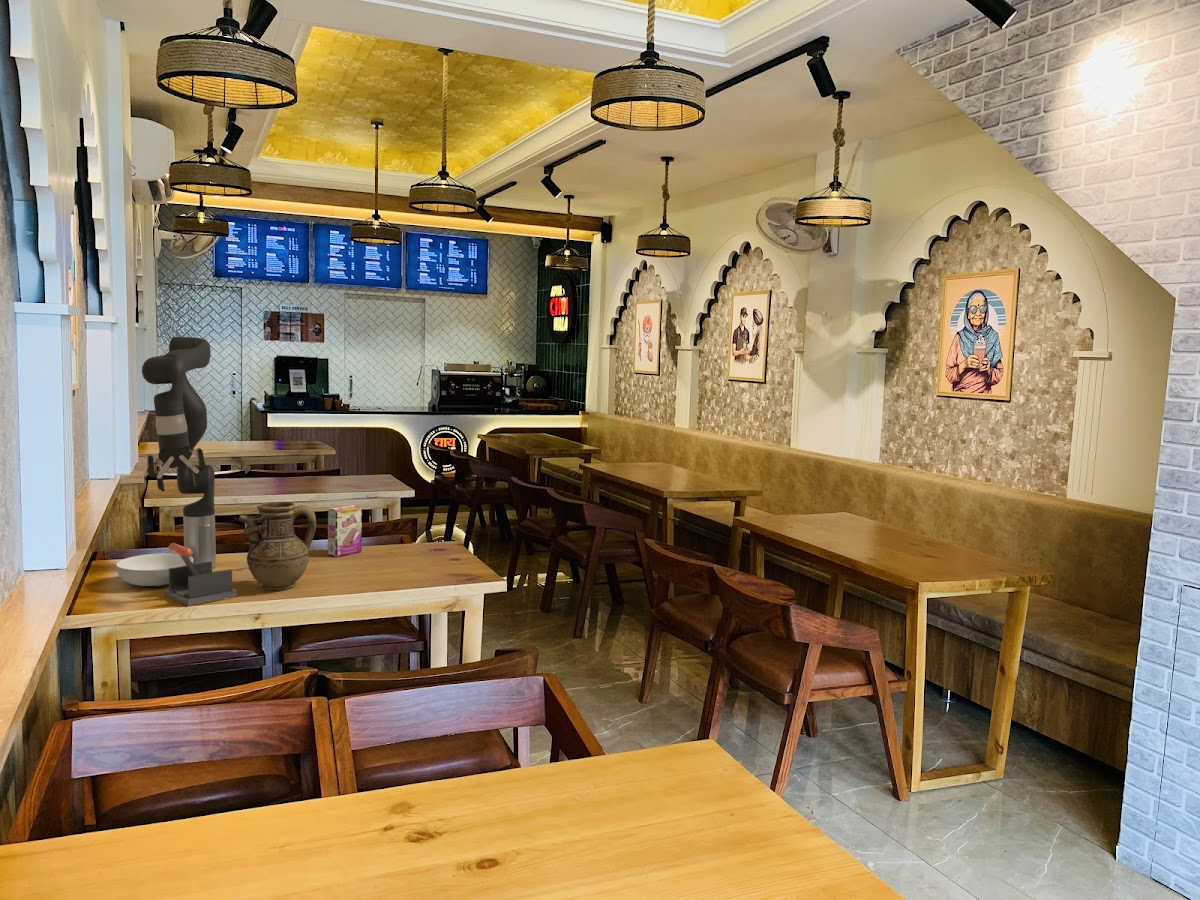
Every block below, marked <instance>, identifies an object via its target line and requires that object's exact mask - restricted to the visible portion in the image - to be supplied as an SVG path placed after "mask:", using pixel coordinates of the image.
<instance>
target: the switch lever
mask: <svg viewBox="0 0 1200 900" xmlns="http://www.w3.org/2000/svg"><path fill="white" fill-rule="evenodd" d="M168 550H169V552H171V553H172V552H173V553H175V554H180V556H181V557H182V559H183V561H184V562H185V564H186V565H187V567H188V568H189V570H190V572H191V573H192V575H193V576H194V575H199V573H198V571H197V570H196V568H195V567H194V565H193V563H192V562H191V560H190V559H189V557H190V556H192V554H193V551H192V550H191V549H189V548H186V547H184V545H180V544H178V543H176V542H171V543H169V545H168Z"/></svg>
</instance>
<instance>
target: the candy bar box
mask: <svg viewBox="0 0 1200 900" xmlns="http://www.w3.org/2000/svg"><path fill="white" fill-rule="evenodd" d="M362 509H363V507H362V506H360V505H353V504H351V505H345V506H339V507H337V506H336V507H332V508H331V507H330V508H328V509H327V555H328V556H331V557H335V558H338V557H344V556H347V555H352V554H353V553H354V554H356V553H357V552H358V553H361V552H362V546H363V545H362V543H363V542H362V540H363V539H362V538H363V537H362V533H363V531H362V529H363V528H362V526H363V523H362V522H363V521H362V519H363V510H362ZM358 553H357V554H358ZM354 554H353V555H354Z"/></svg>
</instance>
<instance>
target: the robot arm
mask: <svg viewBox="0 0 1200 900" xmlns="http://www.w3.org/2000/svg"><path fill="white" fill-rule="evenodd" d="M210 345H211V344H210V343H209V341H208V340H207V339H205V338H202V337H192V336H190V337H189V336H173V337H172V338H171V339H170V340H169V345H168V352H167V353H165V354H163V355H157V356H152V357H149V358H147V359H146V360H145V361H144V362H143V364H142V366H141V374H142V377H143V379H144V380H145V381H146V382H148V383H149V384H151V385H169V384H171V388H170V389H169V390H167V391H164V392H160V393H157V394H155V395H154V397H153V405H154V412H155V427H156V435H157V436H156V437H157V441H158V442H157V443H158V449H159V452H158V453H157V454H150V453H148V454H147V455H146V461H147V463H146V464H147V475H148V476H149V477H150V478H155V480H156V485H157V488H158V490H159V491H160V492H162V493H163V492H165V483H164V478H163V476H164V474H165V473H166V472H167V471H168V468H170V469H175V468H176V483H177V484H176V485H177V489H178V491H179V493H180V494H182V495H191V494H192V495H194V494H195V495H199V494H200V495H201V494H203V496H202V497H201V498H200V499H198V500H196V501H194V502H191V503H188V504H186V505H185V506H183V508H182V517H183V521H182V522H183V543H184V544H183V546H184V547H186V548H189V549H191V550H192V551H193V554H192V556H191V557H192V558H193V564H198V563H205V562H212V569H213V568H216V566H217V555H216V553H217V549H216V543H217V542H216V516H215V513H216V511H215V475H216V474H215V470H214V469H215V468H214V466H213V465H212V464H206V463H205V462H206V461H205V456H204V452H203V449H202V448H200V447H197V448H196V449H195V447H196V446H197V445H198V444H199V442H200V441H201V439H202V438H203V436H204V435H205V433H206V431H207V429H208V411H207V410H208V409H207V406H206V404H205V401H204V400H203V399H202V398H201V396H200V395H199V394H198V393H197V391H196V390H195V389H194V387H193V386H192V384H191V383H190V381H189V378H188V377H187V374H186V373H187V372H190V371H191V370H196V369H203V368H204V369H205V367H207V366H208V365H209V363H210V361H211V356H212V355H211V353H212V352H211V346H210ZM193 455H194V456H195V457H196V458H197V460H198V464H193V463H192V462H191V461H190V459H191V457H192V456H193ZM158 459H159V460H160V461H161V462H162V463H161V465H160V466H159V468H158V470H157V471H155V470H154V469H155V468H154V465H155V464H154V463H156V462H157V460H158Z"/></svg>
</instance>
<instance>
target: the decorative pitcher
mask: <svg viewBox="0 0 1200 900" xmlns="http://www.w3.org/2000/svg"><path fill="white" fill-rule="evenodd" d="M256 509H257V510H258V511H259V513H258V514H256V515H245V514H240V515H238V522H241V523H245V524H246V525H247V526H246V527H245V528H244V529H243V533H244V534H245V535H248V540H249V547H248V550H247V551H248V552H247V554H246V555H247V556H246V563H247V567H248V569H249V572H250V573H251V575H252V577H253V578H254V579H255V580H256V582H258V583H259V584H261V585H262V586H261V587H262V589H263V590H266V589H268V590H267V591H284V590H287V589H288V588H289V589H291V588H293V587H296V586H297V585H298V584H297V583H298V582H297V581H298V580H300V579H301V578H302V576H303V575H304V573H305V571H306V569H307V566H308V564H309V550H310V546H311V545H312V542H313V540H314V536H315V533H316V529H317V520H316V519H317V518H316V517H317V516H316V513H315V511H314V510H313V509H312V508H311V507H309V505H304V504H303V505H301V504H300V505H297V506H296V504H295V503H294V502H290V501H269V502H262V503H260V504H258V505H256ZM299 515H304V516H305V517H306V520H307V524H308V525H307V530H306V532H305V535H304V539H303V540H302V539H301V538H300V537H298V535H296V534H295V527H294V521H295V519H296V518H297V517H298V516H299ZM283 589H284V590H283Z"/></svg>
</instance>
